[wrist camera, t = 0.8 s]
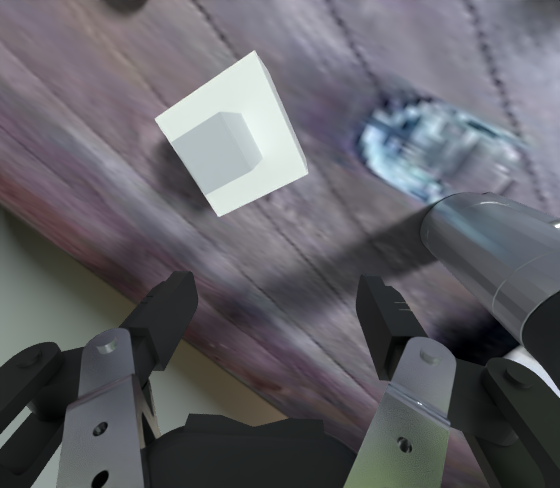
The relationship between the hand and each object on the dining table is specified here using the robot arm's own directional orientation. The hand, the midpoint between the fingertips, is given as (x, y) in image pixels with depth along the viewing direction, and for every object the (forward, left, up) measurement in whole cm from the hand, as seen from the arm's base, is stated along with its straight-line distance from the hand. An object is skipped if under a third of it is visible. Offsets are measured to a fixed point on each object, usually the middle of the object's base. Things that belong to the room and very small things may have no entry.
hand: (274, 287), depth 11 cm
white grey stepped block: (+2, -7, -22) cm, 23 cm away
